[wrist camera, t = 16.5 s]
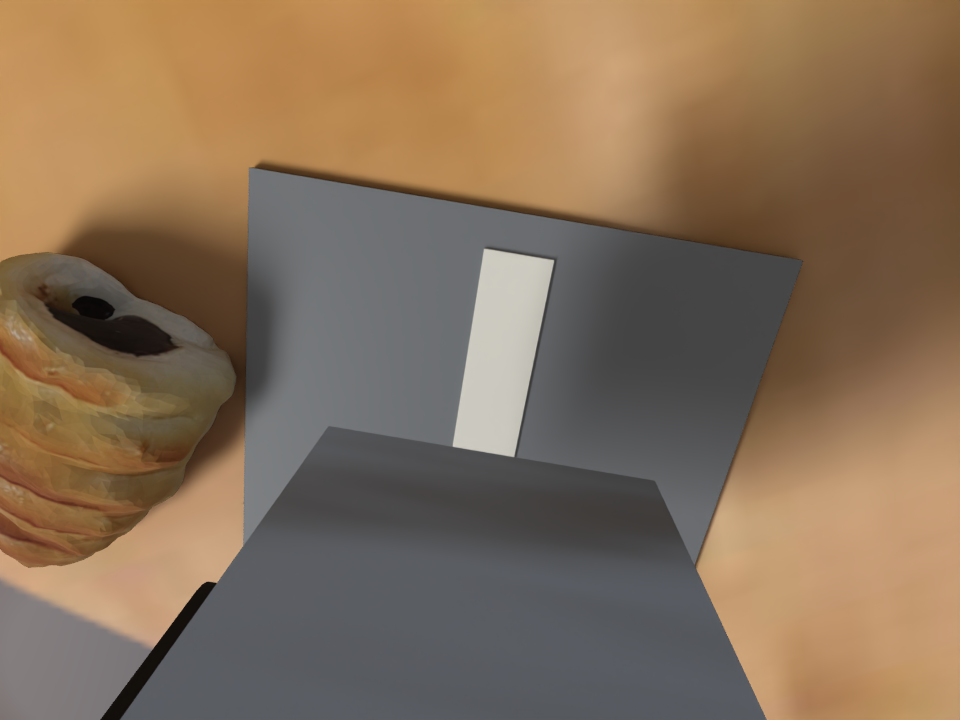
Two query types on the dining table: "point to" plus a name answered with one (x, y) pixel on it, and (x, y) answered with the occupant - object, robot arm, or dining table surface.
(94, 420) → the pastry
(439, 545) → the slate blue cube
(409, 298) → the board
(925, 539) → the dining table surface
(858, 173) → the dining table surface
